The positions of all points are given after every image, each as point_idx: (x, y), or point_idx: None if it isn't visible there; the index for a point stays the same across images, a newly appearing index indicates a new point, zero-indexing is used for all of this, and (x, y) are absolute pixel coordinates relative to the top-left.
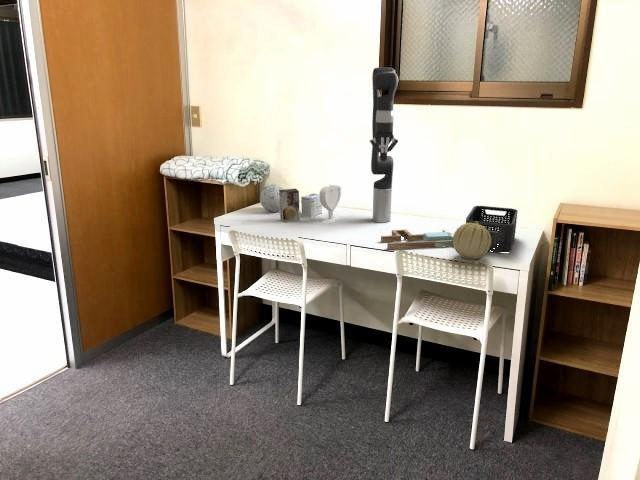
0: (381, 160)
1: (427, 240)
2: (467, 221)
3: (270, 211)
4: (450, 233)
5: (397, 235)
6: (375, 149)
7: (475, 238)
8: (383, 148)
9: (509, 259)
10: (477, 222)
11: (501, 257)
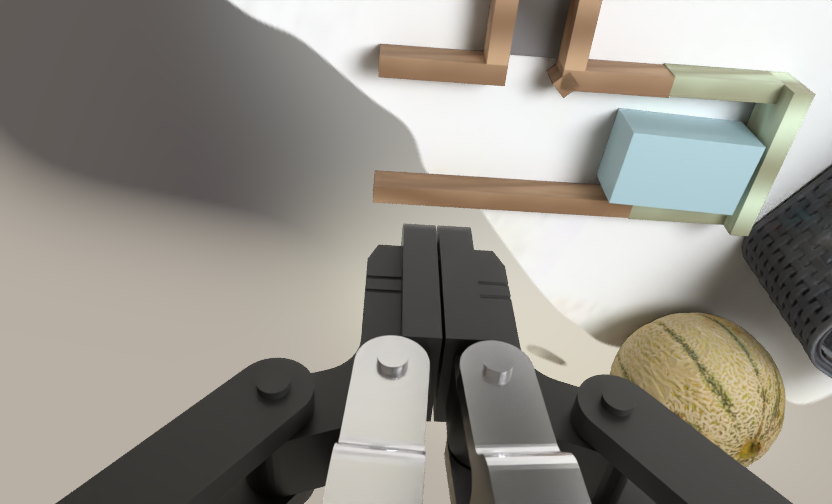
0: (402, 245)
1: (604, 188)
2: (808, 338)
3: None
4: (776, 168)
5: (487, 66)
6: (218, 402)
7: None
8: None
9: (790, 373)
10: (754, 455)
11: (783, 354)
